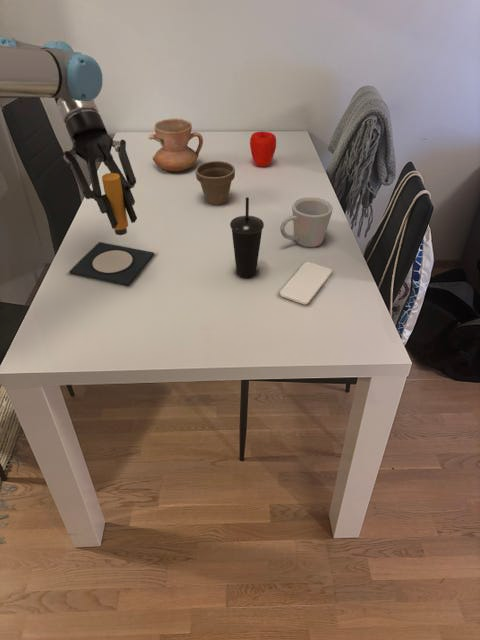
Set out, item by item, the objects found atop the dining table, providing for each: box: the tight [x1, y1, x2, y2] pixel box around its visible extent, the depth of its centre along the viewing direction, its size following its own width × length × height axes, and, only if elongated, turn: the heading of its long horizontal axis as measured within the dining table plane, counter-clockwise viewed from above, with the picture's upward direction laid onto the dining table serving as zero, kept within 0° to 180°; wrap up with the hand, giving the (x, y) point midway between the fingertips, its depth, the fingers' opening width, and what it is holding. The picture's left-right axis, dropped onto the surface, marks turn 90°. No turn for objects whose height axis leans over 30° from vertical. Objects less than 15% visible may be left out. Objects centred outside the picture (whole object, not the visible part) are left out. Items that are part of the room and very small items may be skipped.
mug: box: [279, 196, 334, 248], centre depth 124 cm, size 10×15×10 cm
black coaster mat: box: [69, 241, 155, 287], centre depth 120 cm, size 16×14×1 cm
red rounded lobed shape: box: [249, 131, 277, 168], centre depth 162 cm, size 9×9×11 cm
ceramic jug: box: [147, 118, 204, 172], centre depth 159 cm, size 18×14×14 cm
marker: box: [101, 172, 129, 236], centre depth 101 cm, size 4×4×13 cm
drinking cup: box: [229, 197, 265, 279], centre depth 111 cm, size 8×8×20 cm
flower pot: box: [194, 160, 236, 206], centre depth 142 cm, size 12×11×10 cm
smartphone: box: [279, 261, 333, 306], centre depth 113 cm, size 7×1×15 cm
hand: (124, 223), depth 100 cm, fingers closed on marker, 4 cm apart
